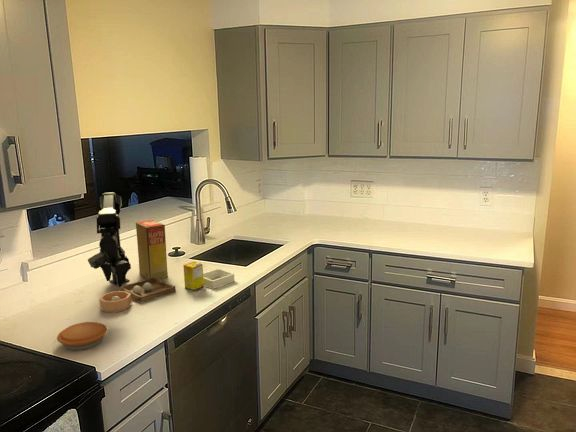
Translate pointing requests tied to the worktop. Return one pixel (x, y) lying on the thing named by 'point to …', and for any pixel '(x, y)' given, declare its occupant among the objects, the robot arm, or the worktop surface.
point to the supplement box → (193, 276)
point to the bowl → (115, 305)
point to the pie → (82, 335)
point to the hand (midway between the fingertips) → (114, 283)
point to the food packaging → (151, 249)
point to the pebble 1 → (115, 298)
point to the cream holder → (226, 279)
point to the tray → (156, 291)
